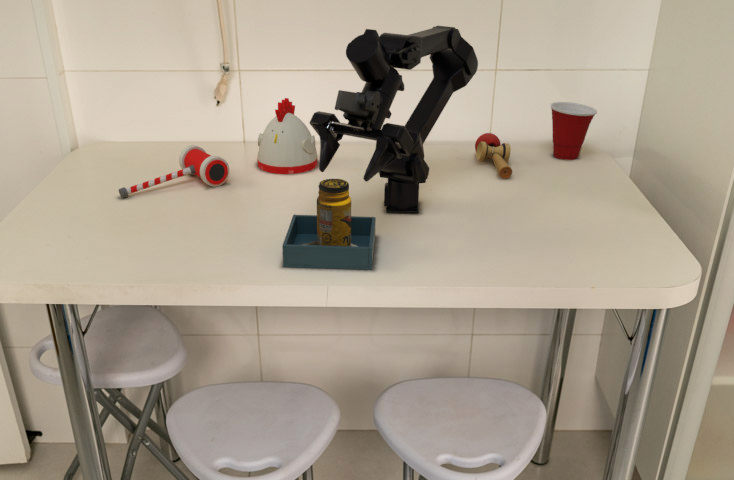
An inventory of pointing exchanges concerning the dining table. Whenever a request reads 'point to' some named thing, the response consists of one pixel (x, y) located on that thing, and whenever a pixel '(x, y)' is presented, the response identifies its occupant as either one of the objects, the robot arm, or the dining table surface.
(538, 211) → the dining table surface
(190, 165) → the toy hammer
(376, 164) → the robot arm
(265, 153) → the kitchen timer
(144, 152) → the dining table surface
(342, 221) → the condiment
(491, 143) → the kendama
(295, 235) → the tote
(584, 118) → the plastic cup
